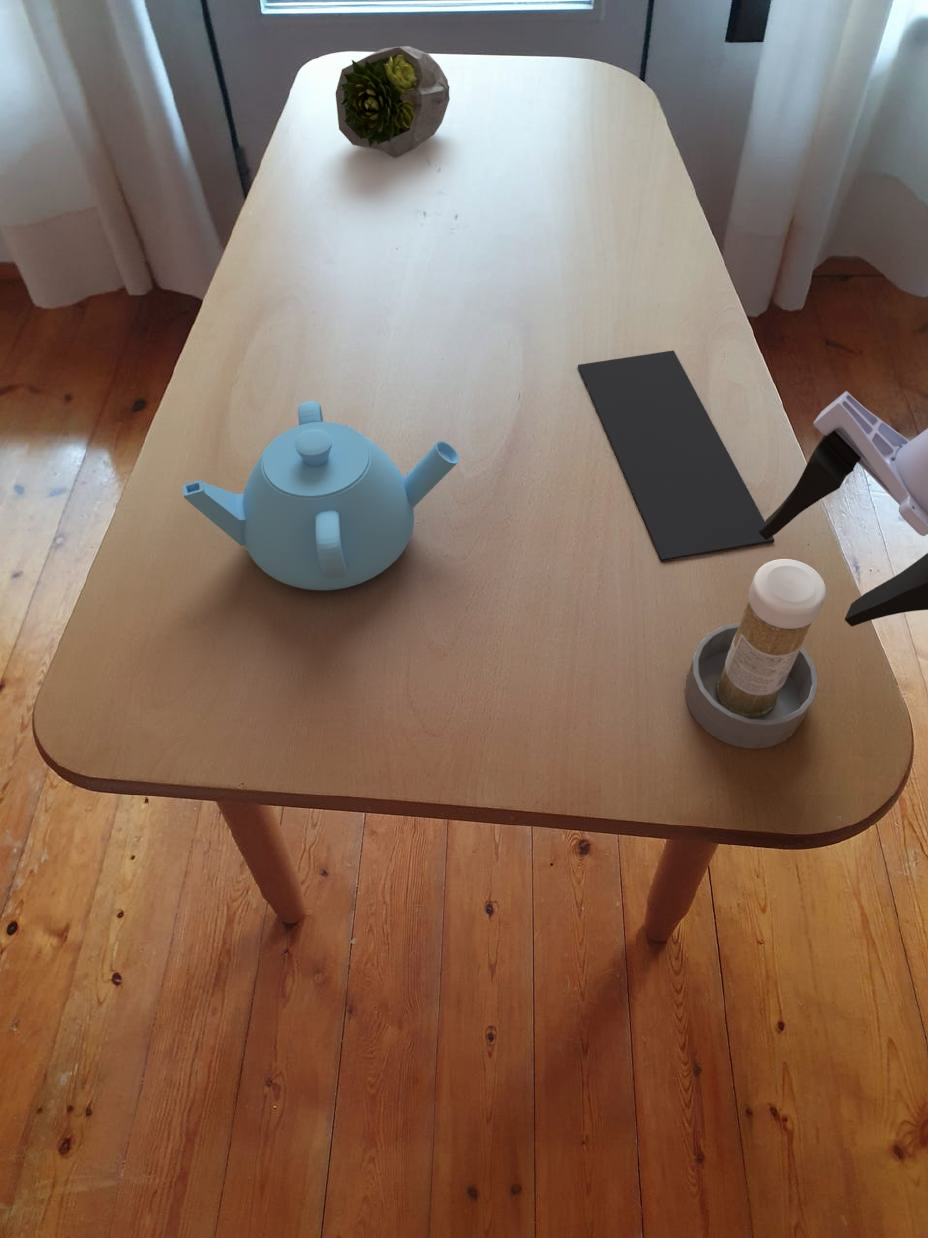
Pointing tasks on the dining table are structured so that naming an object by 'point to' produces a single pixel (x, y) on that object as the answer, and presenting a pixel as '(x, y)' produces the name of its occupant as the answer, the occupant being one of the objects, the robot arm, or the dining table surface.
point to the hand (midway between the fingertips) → (809, 572)
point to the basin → (734, 727)
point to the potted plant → (392, 100)
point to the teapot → (323, 504)
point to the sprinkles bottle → (769, 636)
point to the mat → (672, 457)
